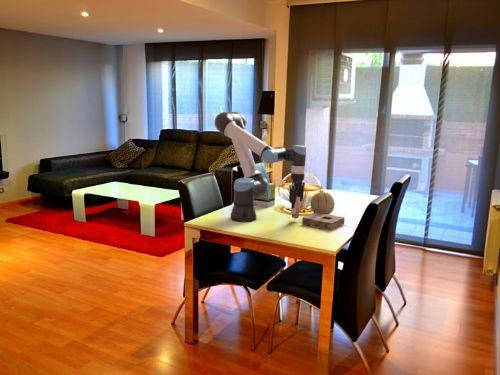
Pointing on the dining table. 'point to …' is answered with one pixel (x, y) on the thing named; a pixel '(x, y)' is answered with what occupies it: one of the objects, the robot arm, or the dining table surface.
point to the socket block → (323, 221)
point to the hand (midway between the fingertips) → (295, 212)
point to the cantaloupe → (322, 203)
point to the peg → (297, 208)
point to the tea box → (266, 197)
